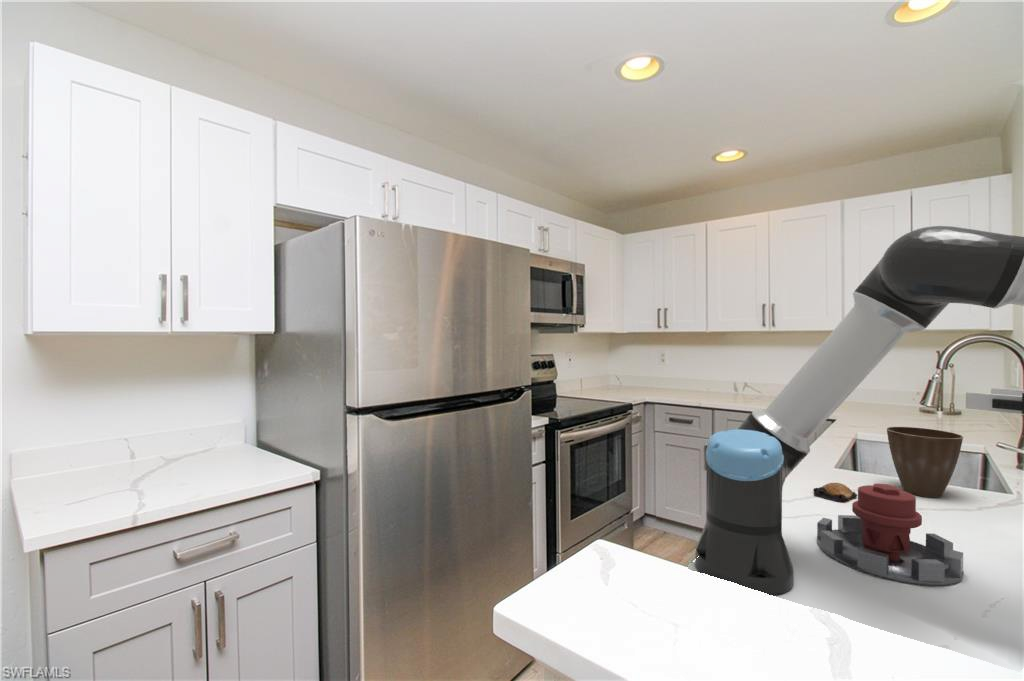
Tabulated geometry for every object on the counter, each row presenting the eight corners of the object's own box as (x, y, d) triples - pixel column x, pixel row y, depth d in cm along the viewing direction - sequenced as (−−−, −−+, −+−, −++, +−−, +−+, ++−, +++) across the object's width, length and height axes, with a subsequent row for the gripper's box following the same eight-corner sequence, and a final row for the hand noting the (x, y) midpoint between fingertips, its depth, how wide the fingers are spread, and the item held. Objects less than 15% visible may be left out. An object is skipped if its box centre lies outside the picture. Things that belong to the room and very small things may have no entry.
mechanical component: (899, 543, 90) (935, 569, 80) (841, 539, 92) (870, 563, 82) (900, 480, 90) (936, 497, 80) (842, 476, 92) (870, 493, 82)
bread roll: (824, 489, 126) (824, 476, 126) (861, 498, 119) (861, 483, 119) (807, 497, 120) (807, 482, 120) (846, 506, 113) (846, 491, 113)
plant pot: (909, 481, 131) (910, 425, 131) (976, 499, 117) (977, 435, 117) (872, 487, 126) (873, 428, 126) (937, 506, 112) (938, 439, 112)
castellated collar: (801, 553, 87) (802, 534, 87) (834, 523, 101) (834, 507, 101) (956, 601, 71) (956, 577, 71) (969, 558, 85) (969, 538, 85)
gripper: (1185, 454, 57) (954, 425, 75) (1200, 433, 70) (1000, 413, 88) (1186, 393, 57) (954, 379, 75) (1201, 383, 70) (1001, 373, 88)
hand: (979, 397), depth 82 cm, fingers open, 13 cm apart
